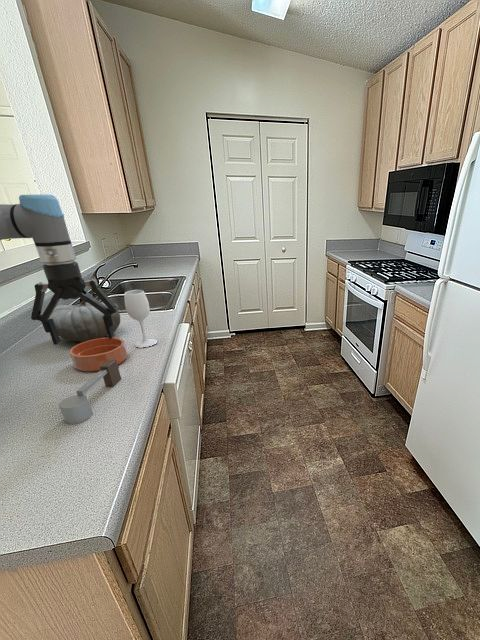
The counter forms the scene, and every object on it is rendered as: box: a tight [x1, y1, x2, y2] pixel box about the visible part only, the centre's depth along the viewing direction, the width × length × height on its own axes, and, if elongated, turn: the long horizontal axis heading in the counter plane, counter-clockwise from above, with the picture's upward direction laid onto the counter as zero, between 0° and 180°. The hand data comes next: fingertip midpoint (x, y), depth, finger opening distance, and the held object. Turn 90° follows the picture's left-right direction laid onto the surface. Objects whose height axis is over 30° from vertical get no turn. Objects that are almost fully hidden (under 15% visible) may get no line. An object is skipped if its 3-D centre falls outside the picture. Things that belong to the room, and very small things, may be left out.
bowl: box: [69, 336, 128, 373], centre depth 117 cm, size 17×17×6 cm
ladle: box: [58, 360, 122, 425], centre depth 95 cm, size 24×6×7 cm, turn 179°
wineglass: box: [123, 289, 158, 349], centre depth 128 cm, size 9×9×21 cm
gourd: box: [48, 299, 121, 343], centre depth 136 cm, size 25×25×17 cm
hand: (84, 339), depth 93 cm, fingers open, 13 cm apart
